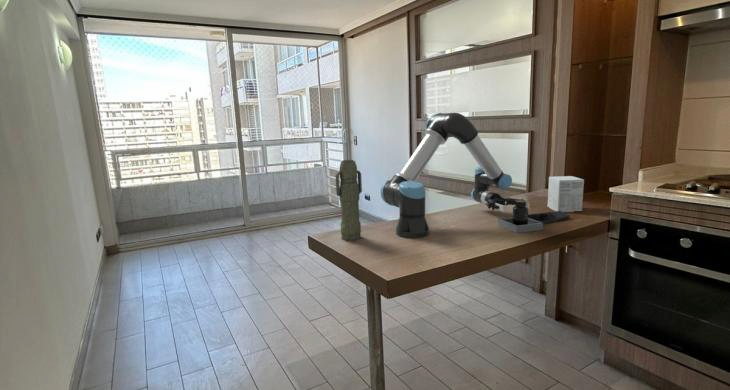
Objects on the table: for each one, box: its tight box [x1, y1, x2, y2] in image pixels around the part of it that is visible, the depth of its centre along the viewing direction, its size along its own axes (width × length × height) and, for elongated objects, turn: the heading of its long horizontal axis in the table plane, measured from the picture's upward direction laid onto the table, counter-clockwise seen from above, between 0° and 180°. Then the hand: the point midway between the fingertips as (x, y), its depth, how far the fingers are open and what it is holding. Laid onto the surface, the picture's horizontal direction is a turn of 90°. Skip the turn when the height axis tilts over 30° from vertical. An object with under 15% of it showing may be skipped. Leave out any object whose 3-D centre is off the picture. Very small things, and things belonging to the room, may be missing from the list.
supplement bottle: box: [512, 199, 529, 226], centre depth 183 cm, size 7×7×12 cm
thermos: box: [335, 159, 363, 242], centre depth 174 cm, size 9×12×35 cm
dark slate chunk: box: [528, 211, 571, 225], centre depth 197 cm, size 15×22×5 cm
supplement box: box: [547, 175, 585, 213], centre depth 214 cm, size 13×13×18 cm
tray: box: [497, 216, 544, 234], centre depth 184 cm, size 14×14×3 cm
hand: (516, 207), depth 186 cm, fingers open, 13 cm apart
